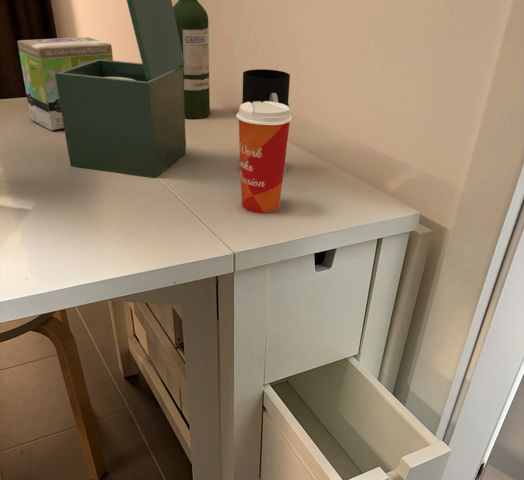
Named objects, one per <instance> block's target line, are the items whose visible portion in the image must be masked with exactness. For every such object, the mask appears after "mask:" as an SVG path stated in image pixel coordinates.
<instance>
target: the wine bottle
mask: <svg viewBox="0 0 524 480" xmlns="http://www.w3.org/2000/svg"><path fill="white" fill-rule="evenodd" d="M173 10H174V15H175V20H176V24H177V29H178V34H179V39H180V43H181V48H182V53H183V58H184V63H185V64H184V65H181V66H179V67H182V68H183V88H184V113H185V120H186V119H187V120H199V119H200V120H201V119H204V118H207V117H209V115H210V114H211V109H210V108H211V107H210V105H211V104H210V103H211V101H210V41H209V40H210V39H209V36H210V35H209V31H210V30H209V29H210V28H209V15H208V13H207V11H206V9H205V8H204V6H203V5H202V4H201V3H200V2H199V1H198V0H177V2H176V3H175V4H174V5H173Z"/></svg>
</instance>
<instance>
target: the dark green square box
mask: <svg viewBox="0 0 524 480" xmlns="http://www.w3.org/2000/svg"><path fill="white" fill-rule="evenodd" d="M55 76H56V82H57V88H58V94H59V100H60V106H61V112H62V118H63V124H64V128H63V129H64V130H63V131H64V135H65V136H64V137H65V142H66V147H67V154H68V158H69V165H70V167H76V168H82V169H90V170H97V171H104V172H111V173H118V174H126V175H133V176H138V177H139V176H141V177H146V178H147V177H148V178H154V179H156V178H158V177H159V176H161V175H162V174H163V173H164V172H165V171H167V170H168V169H169V168H171V166H173V165H174V164H175V163H176V162H178V161H179V160H180V159H182V158H183V157H184V156H185V155H187V143H186V142H187V140H186V139H187V138H186V118H185V113H184V88H183V68H182V67H177V68H175V69H173V70H170V71H168V72H166V73H164V74H162V75H159V76H157V77H155V78H153V79H149V80H146V76H145V72H144V68H143V64H142V62H132V61H131V62H129V61H122V60H121V61H120V60H113V61H112V60H102V59H97V60H94V61H91V62H88V63H85V64H82V65H79V66H76V67H73V68H70V69H67V70H63V71H60V72H57V73H55ZM107 77H123V78H129V79H133V80H126V79H116V78H107ZM135 80H136V81H135Z"/></svg>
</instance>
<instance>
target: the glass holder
mask: <svg viewBox="0 0 524 480" xmlns="http://www.w3.org/2000/svg"><path fill="white" fill-rule="evenodd" d="M290 81H291V74H290V73H288V72H286V71H282V70H277V69H266V68H263V69H261V68H260V69H259V68H257V69H248V70H244V71H243V72H242V101H241V104H243V103H246V102H250V103H253V102H257V101H261V102H264V101H269V102H277V103H281V104H284V105H287V106H288V107H289V108H290V103H289V99H290V97H289V96H290ZM241 104H240V105H241ZM286 157H287V155H286V156H285V165H284V173H283V175H284V174H286V173H287V172H288V166H287V162H286V160H287V159H286ZM237 170H238V171H239V172H241V171H240V161H239V162H238V165H237Z"/></svg>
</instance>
